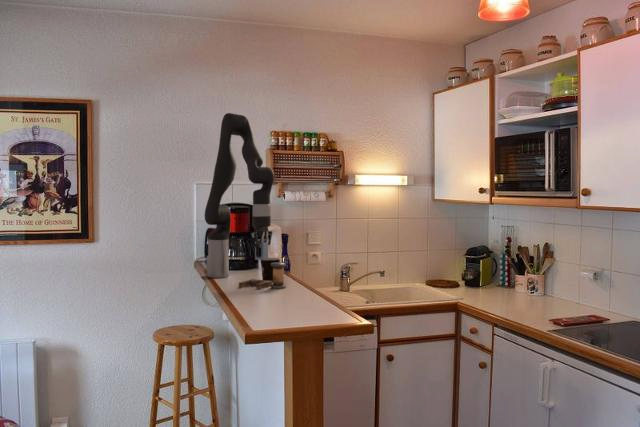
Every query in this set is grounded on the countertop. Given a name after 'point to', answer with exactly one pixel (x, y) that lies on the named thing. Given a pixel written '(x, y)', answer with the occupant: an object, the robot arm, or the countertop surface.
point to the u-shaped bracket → (255, 283)
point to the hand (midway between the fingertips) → (261, 256)
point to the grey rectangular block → (263, 252)
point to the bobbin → (278, 275)
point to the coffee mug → (268, 268)
